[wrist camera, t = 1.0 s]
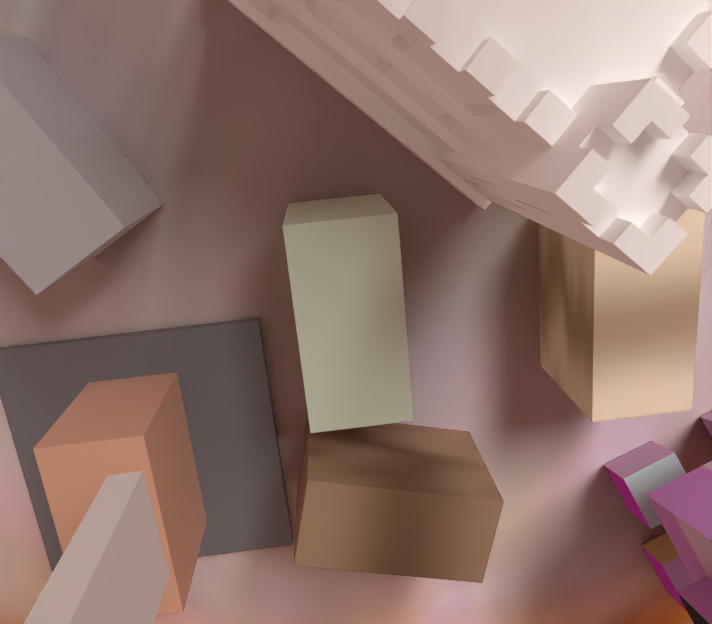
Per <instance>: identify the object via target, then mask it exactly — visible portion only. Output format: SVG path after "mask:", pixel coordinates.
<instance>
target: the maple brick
mask: <svg viewBox="0 0 712 624" xmlns="http://www.w3.org/2000/svg"><path fill="white" fill-rule="evenodd" d="M704 220H705V212H700V211H696V210H692V209H687V210H686V211H685V212H684V213H683V214H682V215H681V217H680V218H679V219H678V220H677V221H676V222H675V223H676V224H677V225H678V226H679V227H680V228H681V229H683V230H684V231H685V232H686V233H687V234H688V235H687V236H686V237H685V238H684V239H683V240H682V241H681V242H680V244H679V245H678V246H677V247H676V248H675V249H674V250H673V251H672V252H671V253H670V255H669V256H668V257H667V258H666V259H665V260H664V261H663V262H662V263H661V265H660V266H659V267H658V268H657V269H656V270H655V271H654V272H653V273H652V275H651V276H650V275H648V274H646V273H644V272H642V271H640V270H637V269H635V268H633V267H631V266H629V265H627V264H625V263H622V262H620V261H618V260H616V259H614V258H612V257H610V256H607V255H605V254H603V253H601V252H599V251H597V250H595V249H592V248H590V247H588V246H586V245H584V244H582V243H580V242H577V241H575V240H573V239H571V238H569V237H567V236H565V235H562V234H560V233H558V232H556V231H554V230H552V229H550V228H547V227H545V226H543V225H541V224H539V302H540V366H541V367H542V368H543V369H544V370H545V371H546V372H547V373H548V374H549V375H550V377H551V378H552V379H553V380H554V381H555V382H556V383H557V384H558V385H559V386H560V387H561V389H562V390H563V391H564V392H565V393H566V394H567V395H568V396H569V397H570V398H571V399H572V401H573V402H574V403H575V404H576V405H577V406H578V407H579V408H580V409H581V410H582V411H583V413H584V414H585V415H586V416H587V417H588V418H589V419H590V420H591V421H592V422H597V421H605V420H613V419H621V418H629V417H638V416H646V415H654V414H662V413H670V412H678V411H687V410H692V397H693V383H694V368H695V353H696V338H697V323H698V309H699V294H700V279H701V264H702V249H703V235H704Z"/></svg>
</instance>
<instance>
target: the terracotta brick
mask: <svg viewBox="0 0 712 624" xmlns="http://www.w3.org/2000/svg"><path fill="white" fill-rule="evenodd" d="M33 450H34V454H35V457H36V461H37V464H38V468H39V471H40V475H41V478H42V482H43V485H44V489H45V492H46V496H47V499H48V503H49V506H50V510H51V513H52V517H53V520H54V524H55V527H56V531H57V534H58V538H59V541H60V545H61V548H62V552H63V553H64V551H65V550H66V548H67V546H68V544H69V543H70V541H71V539H72V537H73V536H74V534H75V532H76V530H77V529H78V527H79V525H80V523H81V522H82V520H83V518H84V516H85V515H86V513H87V511H88V509H89V508H90V506H91V504H92V502H93V501H94V499H95V497H96V495H97V494H98V492H99V490H100V488H101V487H102V485H103V483H104V481H105V480H106V478H107V476H109V475H116V474H123V473H130V472H137V471H143V474H144V478H145V482H146V485H147V489H148V493H149V497H150V501H151V505H152V509H153V513H154V517H155V520H156V524H157V528H158V532H159V536H160V540H161V544H162V548H163V551H164V555H165V559H166V563H167V567H168V571H169V577H168V580H167V583H166V587H165V590H164V593H163V596H162V599H161V603H160V606H159V609H158V612H157V615H163V614H171V613H179V612H183V611H184V607H185V603H186V599H187V595H188V592H189V588H190V584H191V580H192V576H193V572H194V569H195V565H196V561H197V557H198V553H199V549H200V545H201V542H202V538H203V534H204V530H205V526H206V522H207V519H206V514H205V509H204V504H203V499H202V494H201V489H200V484H199V479H198V474H197V469H196V464H195V459H194V454H193V449H192V444H191V439H190V434H189V429H188V424H187V419H186V414H185V409H184V404H183V399H182V394H181V389H180V384H179V379H178V374H177V372H175V373H167V374H158V375H149V376H141V377H132V378H124V379H115V380H107V381H98V382H90V383H88V384H87V385H86V387H85V388H84V389H83V390H82V391H81V392H80V394H79V395H78V396H77V397H76V398H75V400H74V401H73V402H72V403H71V404H70V406H69V407H68V408H67V409H66V410H65V411H64V413H63V414H62V415H61V416H60V417H59V419H58V420H57V421H56V422H55V423H54V425H53V426H52V427H51V428H50V429H49V431H48V432H47V433H46V434H45V435H44V436H43V438H42V439H41V440H40V441H39V442H38V444H37V445H36V446H35V447H34V448H33Z"/></svg>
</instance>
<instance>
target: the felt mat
mask: <svg viewBox="0 0 712 624" xmlns="http://www.w3.org/2000/svg"><path fill="white" fill-rule="evenodd" d="M175 372H177V374H178V379H179V384H180V389H181V394H182V399H183V404H184V409H185V414H186V419H187V424H188V429H189V434H190V439H191V444H192V449H193V454H194V459H195V464H196V469H197V474H198V479H199V484H200V489H201V494H202V499H203V504H204V509H205V514H206V519H207V522H206V526H205V530H204V534H203V538H202V542H201V545H200V549H199V553H198V557H200V556H208V555H216V554H224V553H232V552H239V551H247V550H255V549H263V548H271V547H279V546H287V545H293V537H292V531H291V524H290V518H289V511H288V505H287V498H286V492H285V485H284V479H283V472H282V466H281V459H280V452H279V446H278V439H277V433H276V426H275V420H274V413H273V407H272V400H271V394H270V387H269V381H268V374H267V368H266V361H265V355H264V348H263V342H262V335H261V329H260V322H259V318H256V319H247V320H238V321H229V322H221V323H212V324H203V325H195V326H186V327H177V328H168V329H160V330H151V331H142V332H134V333H125V334H116V335H107V336H99V337H90V338H81V339H73V340H64V341H55V342H46V343H38V344H29V345H20V346H12V347H3V348H0V396H1V399H2V403H3V406H4V409H5V413H6V416H7V420H8V423H9V426H10V430H11V433H12V437H13V440H14V443H15V447H16V450H17V454H18V457H19V460H20V464H21V467H22V470H23V474H24V477H25V481H26V484H27V487H28V491H29V494H30V498H31V501H32V504H33V508H34V511H35V514H36V518H37V521H38V525H39V528H40V531H41V535H42V538H43V542H44V545H45V548H46V552H47V555H48V559H49V562H50V565H51V569H52V572H53V571H54V569H55V567H56V565H57V564H58V562H59V560H60V558H61V557H62V555H63V552H62V548H61V545H60V541H59V538H58V534H57V531H56V527H55V524H54V520H53V517H52V513H51V510H50V506H49V503H48V499H47V496H46V492H45V489H44V485H43V482H42V478H41V475H40V471H39V468H38V464H37V461H36V457H35V454H34V450H33V448H34V447H35V446H36V445H37V444H38V442H39V441H40V440H41V439H42V438H43V436H44V435H45V434H46V433H47V432H48V431H49V429H50V428H51V427H52V426H53V425H54V423H55V422H56V421H57V420H58V419H59V417H60V416H61V415H62V414H63V413H64V411H65V410H66V409H67V408H68V407H69V406H70V404H71V403H72V402H73V401H74V400H75V398H76V397H77V396H78V395H79V394H80V392H81V391H82V390H83V389H84V388H85V387H86V385H87V384H88V383H90V382H98V381H107V380H115V379H124V378H132V377H141V376H149V375H158V374H167V373H175Z"/></svg>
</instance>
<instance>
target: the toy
mask: <svg viewBox="0 0 712 624" xmlns="http://www.w3.org/2000/svg"><path fill="white" fill-rule="evenodd" d="M701 419H702V421H703V423H704V425H705V426H706V428H707V430H708V432H709V434H710V435H711V437H712V411H711V412H709V413H707V414H705V415H703V416H701ZM604 466H605V468H606V470H607V472H608V473H609V475H610V477H611V479H612V481H613V482H614V484H615V486H616V488H617V490H618V492H619V493H620V495H621V497H622V499H623V501H624V503H625V504H626V506H627V508H628V510H629V512H631V513H632V514H633V515H634V516H635V517H637V518H638V519H639V520H640V521H642V522H643V523H644V524H645V525H646V526H648V527H649V528H650V529H653V528H655V527H657V526H659V525H661V524H662V525H663V527H664V529H665V530H666V533H664V534H662V535H660V536H658V537H656V538H654V539H652V540H650V541H649V542H647V543H645V544H643V545H641V546H642V548H643V550H644V551H645V553H646V555H647V557H648V559H649V561H650V562H651V564H652V566H653V568H654V570H655V571H656V573H657V575H658V577H659V579H660V581H661V582H662V584H663V586H664V588H665V590H666V591H667V592H668V593H669V594H670V595H671V596H672V597H673V598H674V599H675V600H676V601H677V602H678V603H679V604H680V605H681V606H682V607H683V608H684V609H685V610H686V611H687V612H688V613H689V615H690V617H691V619H692V621H693V623H694V624H712V461H710V462H708V463H706V464H704V465H702V466H700V467H698V468H696V469H695V470H693V471H691V472H689V473H687V474H686V472H685V470H684V468H683V467H682V465H681V463H680V461H679V459H678V458H677V456H676V454H675V452H673V451H671V450H669V449H667V448H665V447H663V446H661V445H658V444H656V443H654V442H652V441H650V442H648V443H646V444H644V445H642V446H640V447H638V448H636V449H634V450H632V451H630V452H629V453H627V454H625V455H623V456H621V457H619V458H617V459H615V460H613V461H611V462H609V463H607V464H605V465H604Z"/></svg>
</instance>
